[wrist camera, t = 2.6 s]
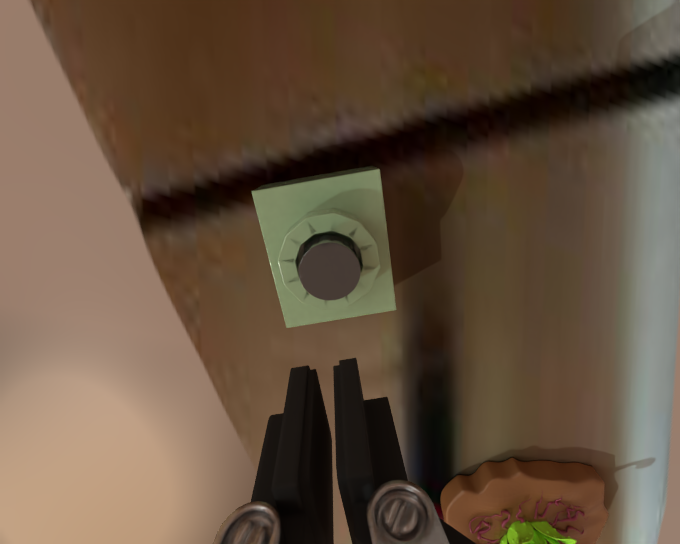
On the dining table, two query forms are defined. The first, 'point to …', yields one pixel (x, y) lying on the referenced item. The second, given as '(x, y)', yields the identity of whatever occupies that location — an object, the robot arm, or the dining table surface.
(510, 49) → the dining table surface
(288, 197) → the button base
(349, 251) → the dark round button cap
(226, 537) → the robot arm
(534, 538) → the plant
